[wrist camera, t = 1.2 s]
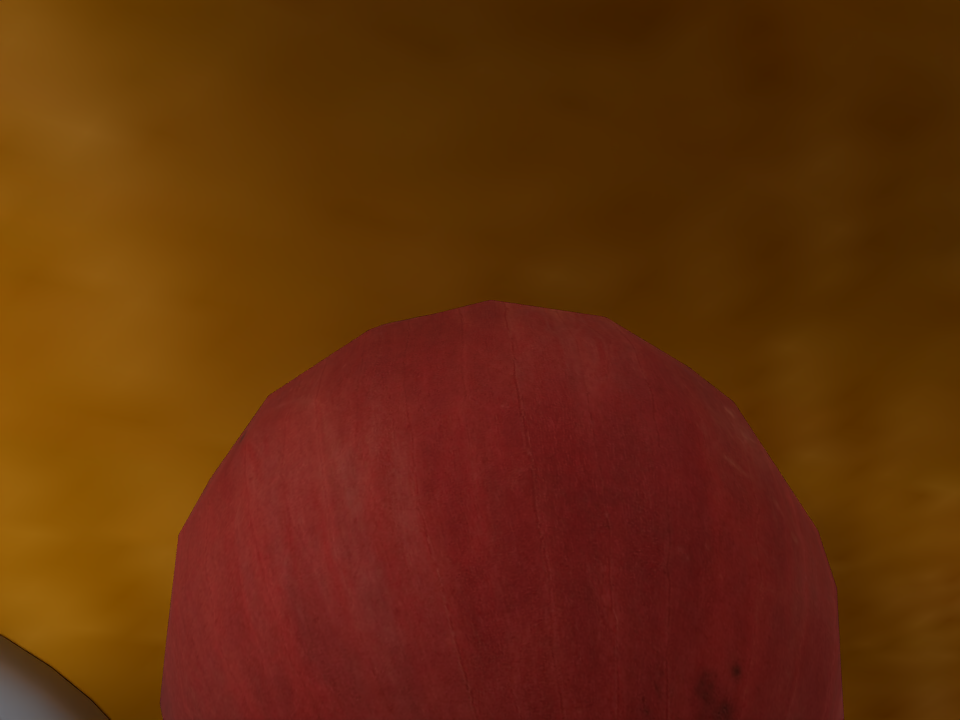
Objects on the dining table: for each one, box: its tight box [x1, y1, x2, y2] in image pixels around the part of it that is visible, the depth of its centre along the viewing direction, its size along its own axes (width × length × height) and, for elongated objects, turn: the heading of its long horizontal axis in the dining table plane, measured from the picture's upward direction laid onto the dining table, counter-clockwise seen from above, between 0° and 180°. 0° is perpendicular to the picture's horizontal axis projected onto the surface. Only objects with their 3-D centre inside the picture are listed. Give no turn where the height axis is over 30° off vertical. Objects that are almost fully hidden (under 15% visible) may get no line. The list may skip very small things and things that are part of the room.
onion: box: [160, 300, 844, 720], centre depth 8 cm, size 6×6×8 cm
